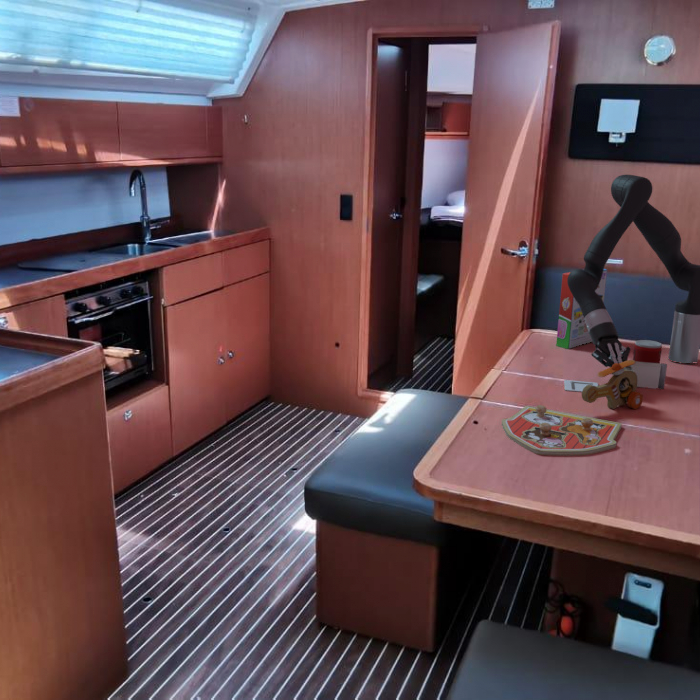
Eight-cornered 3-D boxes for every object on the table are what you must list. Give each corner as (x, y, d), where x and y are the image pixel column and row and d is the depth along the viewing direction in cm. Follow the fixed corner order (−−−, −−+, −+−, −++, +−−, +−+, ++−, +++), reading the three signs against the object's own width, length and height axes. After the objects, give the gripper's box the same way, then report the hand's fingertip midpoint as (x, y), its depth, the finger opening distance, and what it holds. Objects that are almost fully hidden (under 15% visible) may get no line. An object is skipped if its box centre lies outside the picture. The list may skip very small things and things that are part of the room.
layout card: (564, 380, 230) (564, 379, 230) (597, 383, 228) (597, 382, 228) (564, 390, 221) (564, 389, 221) (599, 393, 218) (599, 392, 218)
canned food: (661, 380, 232) (666, 346, 229) (636, 379, 232) (640, 345, 229) (652, 372, 240) (656, 340, 237) (627, 372, 240) (631, 339, 237)
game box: (587, 337, 282) (595, 267, 275) (600, 340, 278) (608, 269, 271) (555, 346, 269) (562, 272, 262) (568, 349, 265) (575, 274, 258)
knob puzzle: (627, 429, 193) (629, 413, 191) (602, 471, 168) (604, 452, 167) (518, 408, 207) (519, 393, 205) (481, 443, 182) (482, 426, 181)
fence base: (619, 383, 228) (622, 360, 226) (663, 387, 225) (666, 363, 223) (620, 385, 226) (622, 361, 224) (664, 389, 223) (667, 365, 221)
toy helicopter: (645, 407, 208) (651, 360, 204) (594, 420, 197) (599, 371, 194) (621, 398, 214) (626, 353, 211) (570, 410, 204) (575, 363, 200)
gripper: (588, 322, 219) (609, 373, 212) (625, 319, 223) (647, 370, 216) (576, 334, 226) (596, 385, 218) (612, 332, 230) (633, 381, 222)
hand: (621, 377), depth 217 cm, fingers closed
